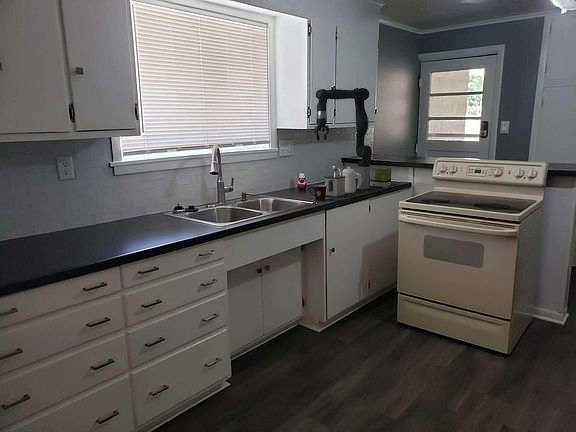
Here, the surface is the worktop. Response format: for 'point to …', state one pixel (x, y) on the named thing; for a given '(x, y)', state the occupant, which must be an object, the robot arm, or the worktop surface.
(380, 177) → the tea box
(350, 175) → the coffeepot
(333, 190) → the utensil holder
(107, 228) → the worktop surface
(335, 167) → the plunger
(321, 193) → the coffee mug
